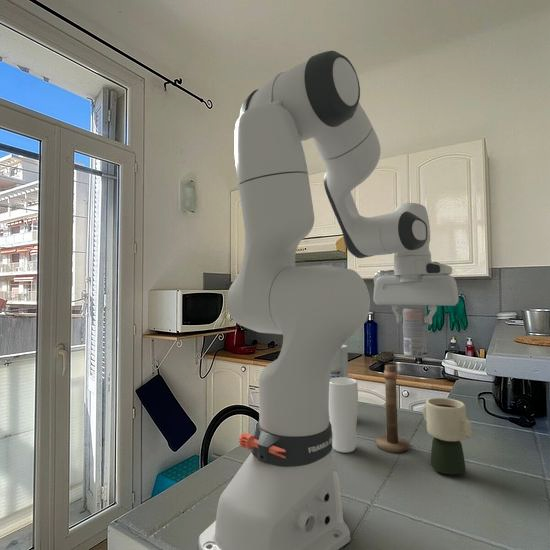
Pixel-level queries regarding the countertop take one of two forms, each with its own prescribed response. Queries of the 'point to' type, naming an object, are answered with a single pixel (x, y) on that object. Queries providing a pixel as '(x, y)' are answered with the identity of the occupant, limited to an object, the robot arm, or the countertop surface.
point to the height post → (391, 416)
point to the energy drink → (414, 333)
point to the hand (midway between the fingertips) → (414, 323)
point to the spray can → (340, 364)
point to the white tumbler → (343, 413)
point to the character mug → (447, 433)
